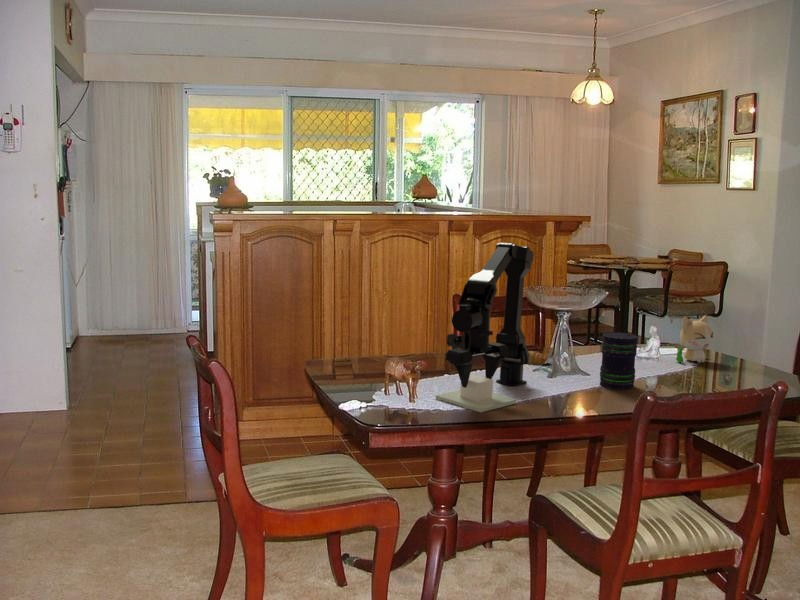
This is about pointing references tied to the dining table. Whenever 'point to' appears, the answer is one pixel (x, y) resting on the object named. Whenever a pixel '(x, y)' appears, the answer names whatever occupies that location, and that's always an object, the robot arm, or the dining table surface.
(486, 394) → the block
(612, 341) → the storage jar
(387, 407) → the dining table surface
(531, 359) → the pastry
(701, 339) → the kitten
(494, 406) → the stub plate
